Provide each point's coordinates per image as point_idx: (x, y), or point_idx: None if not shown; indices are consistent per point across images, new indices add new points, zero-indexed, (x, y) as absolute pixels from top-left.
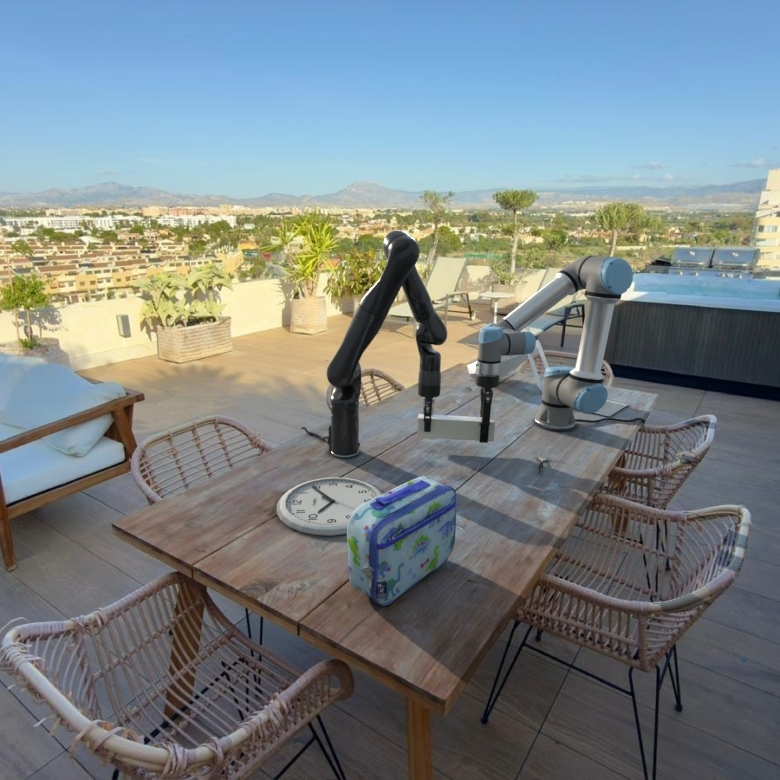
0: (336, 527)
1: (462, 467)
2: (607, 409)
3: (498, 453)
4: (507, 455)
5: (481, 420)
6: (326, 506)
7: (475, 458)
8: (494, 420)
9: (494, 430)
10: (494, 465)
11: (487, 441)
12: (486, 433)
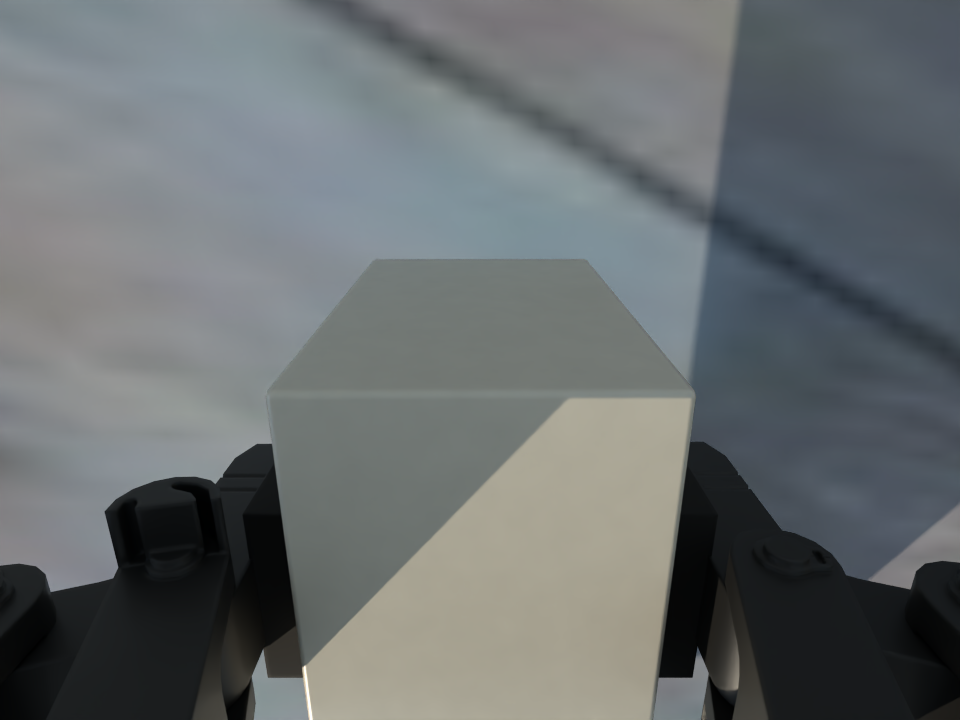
0: None
1: (945, 548)
2: None
3: (578, 156)
4: (633, 31)
5: (570, 714)
6: None
7: (736, 430)
8: (524, 401)
9: (629, 314)
10: (932, 235)
11: None
12: (722, 460)
